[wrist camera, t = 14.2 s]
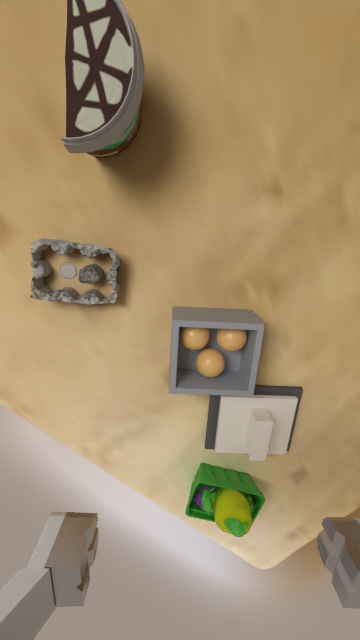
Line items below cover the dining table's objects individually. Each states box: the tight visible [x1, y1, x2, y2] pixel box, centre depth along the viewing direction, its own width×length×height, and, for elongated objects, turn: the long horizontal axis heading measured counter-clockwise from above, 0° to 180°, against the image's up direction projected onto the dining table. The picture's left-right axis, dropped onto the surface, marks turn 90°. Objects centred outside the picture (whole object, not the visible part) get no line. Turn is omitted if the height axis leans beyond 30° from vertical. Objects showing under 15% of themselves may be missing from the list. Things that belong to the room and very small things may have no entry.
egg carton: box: [30, 239, 120, 305], centre depth 34 cm, size 11×8×4 cm
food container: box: [60, 0, 144, 158], centre depth 25 cm, size 12×6×10 cm, turn 172°
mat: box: [205, 385, 303, 451], centre depth 43 cm, size 14×12×1 cm
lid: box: [214, 395, 298, 461], centre depth 41 cm, size 11×10×5 cm
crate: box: [169, 306, 265, 396], centre depth 36 cm, size 11×10×6 cm
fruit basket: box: [185, 463, 265, 537], centre depth 42 cm, size 11×9×11 cm
